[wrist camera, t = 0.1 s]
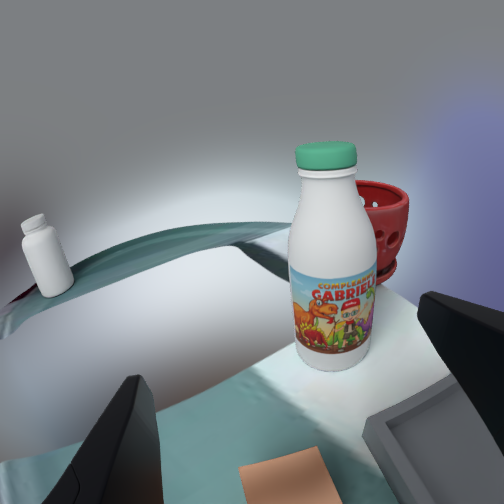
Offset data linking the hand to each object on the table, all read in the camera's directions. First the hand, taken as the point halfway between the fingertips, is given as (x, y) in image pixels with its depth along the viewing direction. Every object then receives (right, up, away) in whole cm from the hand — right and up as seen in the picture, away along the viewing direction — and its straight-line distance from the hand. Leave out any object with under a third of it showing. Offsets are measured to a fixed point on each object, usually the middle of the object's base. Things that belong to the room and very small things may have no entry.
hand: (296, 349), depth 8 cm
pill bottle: (-40, -5, +43) cm, 59 cm away
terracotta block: (+2, -15, +7) cm, 17 cm away
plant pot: (+14, 0, +33) cm, 36 cm away
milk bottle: (+7, -7, +21) cm, 24 cm away
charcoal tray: (+17, -14, +4) cm, 22 cm away
